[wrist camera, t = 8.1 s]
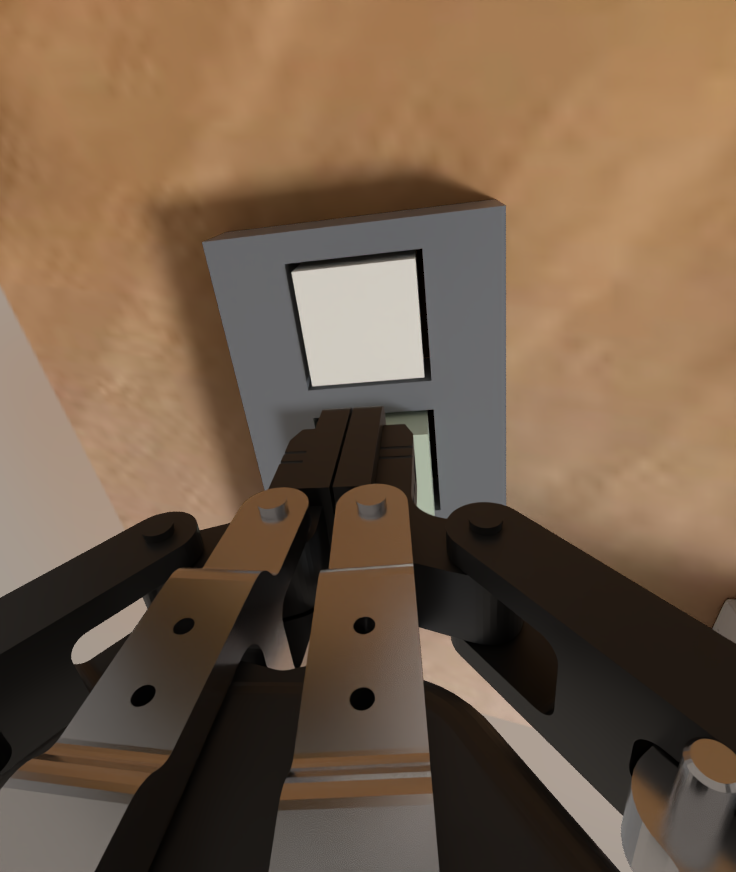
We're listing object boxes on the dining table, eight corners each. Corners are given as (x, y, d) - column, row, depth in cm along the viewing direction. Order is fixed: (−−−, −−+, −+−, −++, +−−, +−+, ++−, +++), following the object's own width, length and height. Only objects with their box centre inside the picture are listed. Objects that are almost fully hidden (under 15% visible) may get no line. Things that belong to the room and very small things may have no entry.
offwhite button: (306, 258, 24) (291, 272, 21) (415, 245, 24) (415, 258, 21) (323, 361, 27) (312, 386, 24) (423, 352, 26) (424, 377, 23)
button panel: (225, 232, 24) (201, 242, 21) (495, 199, 23) (505, 205, 20) (309, 592, 34) (299, 629, 32) (499, 587, 33) (506, 625, 30)
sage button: (325, 410, 26) (313, 441, 23) (427, 403, 26) (427, 434, 23) (340, 494, 28) (331, 532, 26) (433, 489, 28) (435, 527, 25)
